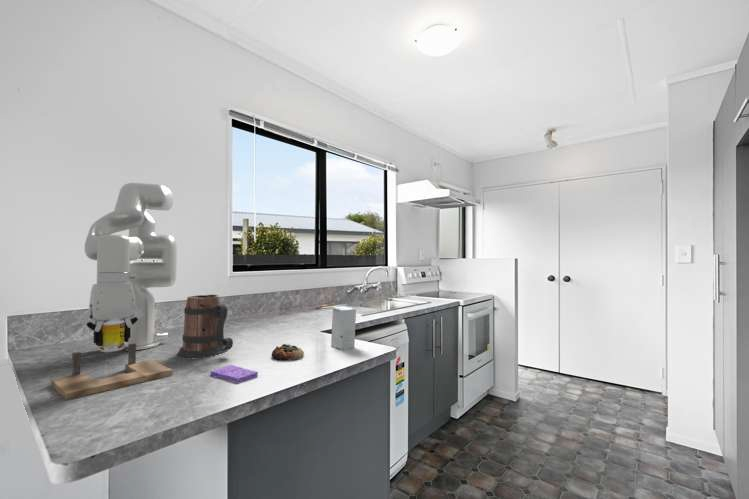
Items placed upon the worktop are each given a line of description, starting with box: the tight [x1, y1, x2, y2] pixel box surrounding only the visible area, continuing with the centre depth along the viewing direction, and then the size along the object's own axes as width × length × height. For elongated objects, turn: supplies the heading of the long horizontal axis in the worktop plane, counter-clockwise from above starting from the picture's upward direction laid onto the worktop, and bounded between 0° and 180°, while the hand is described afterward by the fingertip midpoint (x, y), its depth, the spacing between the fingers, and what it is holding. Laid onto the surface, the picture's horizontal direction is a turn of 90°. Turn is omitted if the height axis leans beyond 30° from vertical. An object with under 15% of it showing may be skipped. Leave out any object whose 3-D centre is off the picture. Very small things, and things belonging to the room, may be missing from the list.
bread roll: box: [271, 343, 305, 362], centre depth 126 cm, size 11×11×5 cm
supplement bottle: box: [99, 318, 125, 353], centre depth 103 cm, size 6×6×10 cm
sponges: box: [210, 364, 259, 384], centre depth 106 cm, size 7×13×2 cm, turn 57°
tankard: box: [175, 294, 234, 360], centre depth 130 cm, size 24×17×20 cm
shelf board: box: [50, 343, 174, 401], centre depth 102 cm, size 24×17×8 cm
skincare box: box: [330, 305, 357, 351], centre depth 139 cm, size 8×6×15 cm
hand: (112, 342), depth 103 cm, fingers closed on supplement bottle, 5 cm apart
